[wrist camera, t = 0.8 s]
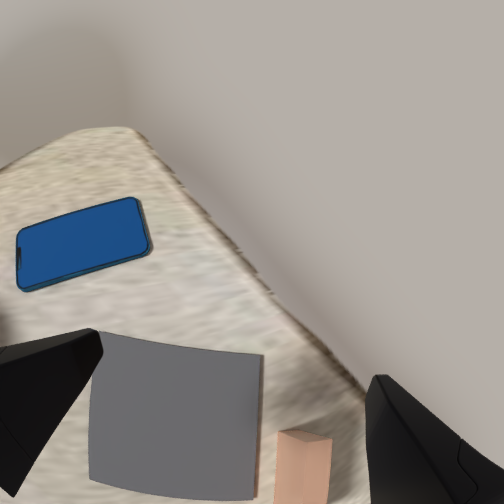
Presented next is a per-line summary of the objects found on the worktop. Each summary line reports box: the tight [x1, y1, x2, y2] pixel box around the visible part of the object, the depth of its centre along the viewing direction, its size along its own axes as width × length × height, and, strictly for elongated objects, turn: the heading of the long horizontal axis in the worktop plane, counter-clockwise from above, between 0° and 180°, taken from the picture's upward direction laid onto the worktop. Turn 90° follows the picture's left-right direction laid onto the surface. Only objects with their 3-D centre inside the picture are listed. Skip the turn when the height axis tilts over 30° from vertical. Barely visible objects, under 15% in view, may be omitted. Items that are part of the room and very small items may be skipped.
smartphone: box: [16, 197, 150, 292], centre depth 23 cm, size 7×1×15 cm
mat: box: [88, 331, 260, 501], centre depth 17 cm, size 14×14×1 cm
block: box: [273, 430, 332, 504], centre depth 15 cm, size 10×2×6 cm, turn 177°
